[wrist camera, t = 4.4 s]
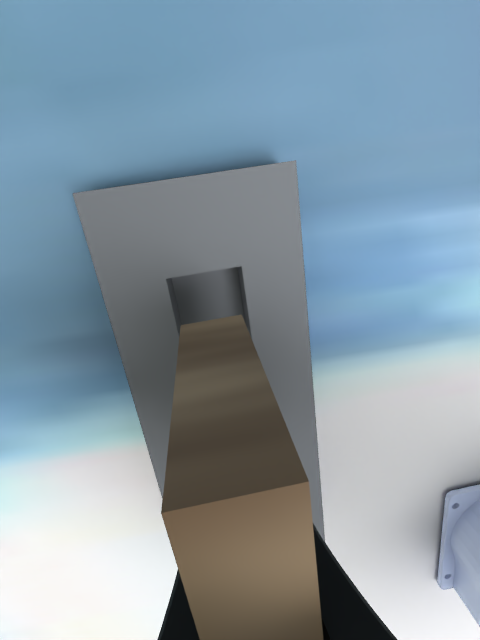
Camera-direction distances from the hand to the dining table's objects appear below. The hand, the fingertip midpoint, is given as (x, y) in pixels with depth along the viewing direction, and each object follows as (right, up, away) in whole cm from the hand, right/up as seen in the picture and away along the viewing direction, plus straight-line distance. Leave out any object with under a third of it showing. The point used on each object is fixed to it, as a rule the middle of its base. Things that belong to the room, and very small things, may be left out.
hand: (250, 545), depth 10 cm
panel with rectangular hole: (-1, +3, +8) cm, 9 cm away
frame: (-1, +1, +3) cm, 4 cm away
